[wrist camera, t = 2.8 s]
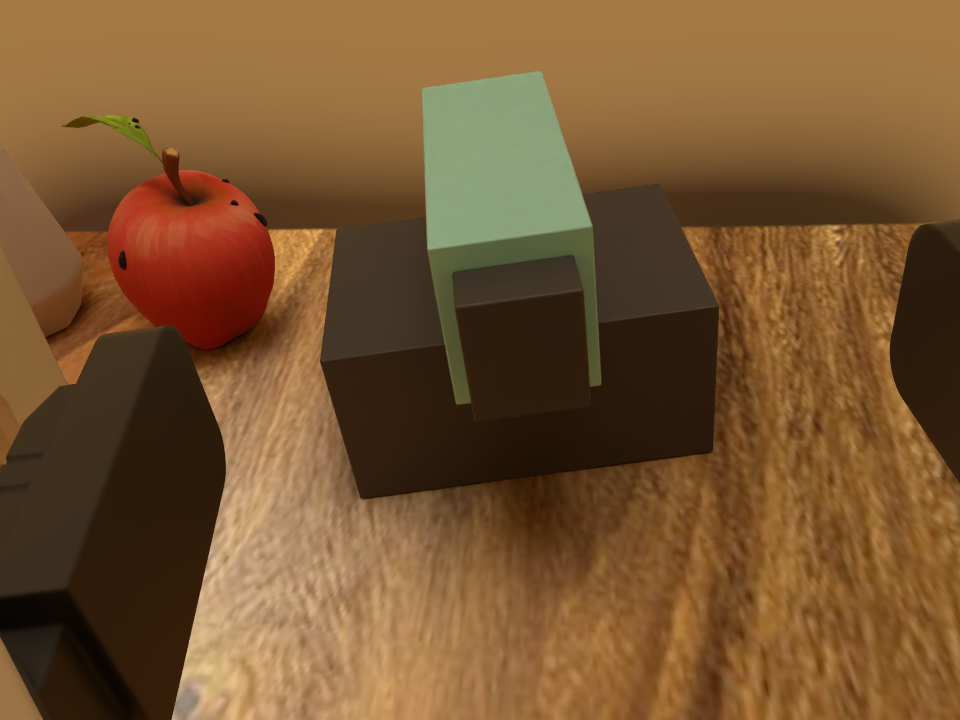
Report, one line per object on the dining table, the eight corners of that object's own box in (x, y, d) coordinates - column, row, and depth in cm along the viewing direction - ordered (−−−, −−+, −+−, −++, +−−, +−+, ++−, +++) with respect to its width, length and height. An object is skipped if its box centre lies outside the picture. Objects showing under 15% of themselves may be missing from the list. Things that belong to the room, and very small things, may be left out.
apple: (313, 281, 42) (254, 71, 36) (281, 373, 37) (205, 146, 31) (157, 293, 43) (73, 91, 37) (103, 385, 38) (-5, 167, 32)
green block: (443, 220, 33) (421, 87, 30) (553, 205, 33) (541, 69, 30) (458, 446, 24) (428, 285, 20) (612, 425, 23) (604, 260, 20)
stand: (660, 316, 37) (660, 182, 33) (713, 451, 31) (719, 305, 27) (368, 356, 37) (336, 229, 34) (360, 499, 31) (319, 361, 27)
